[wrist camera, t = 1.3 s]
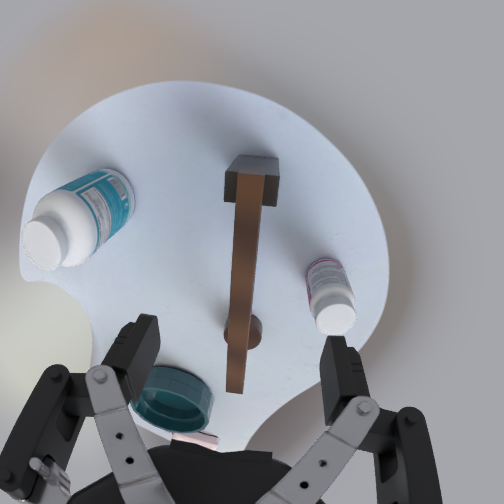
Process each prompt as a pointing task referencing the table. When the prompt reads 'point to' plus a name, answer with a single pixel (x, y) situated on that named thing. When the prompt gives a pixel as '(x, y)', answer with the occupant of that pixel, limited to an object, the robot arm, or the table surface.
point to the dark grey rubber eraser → (254, 164)
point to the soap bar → (198, 439)
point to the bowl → (174, 401)
